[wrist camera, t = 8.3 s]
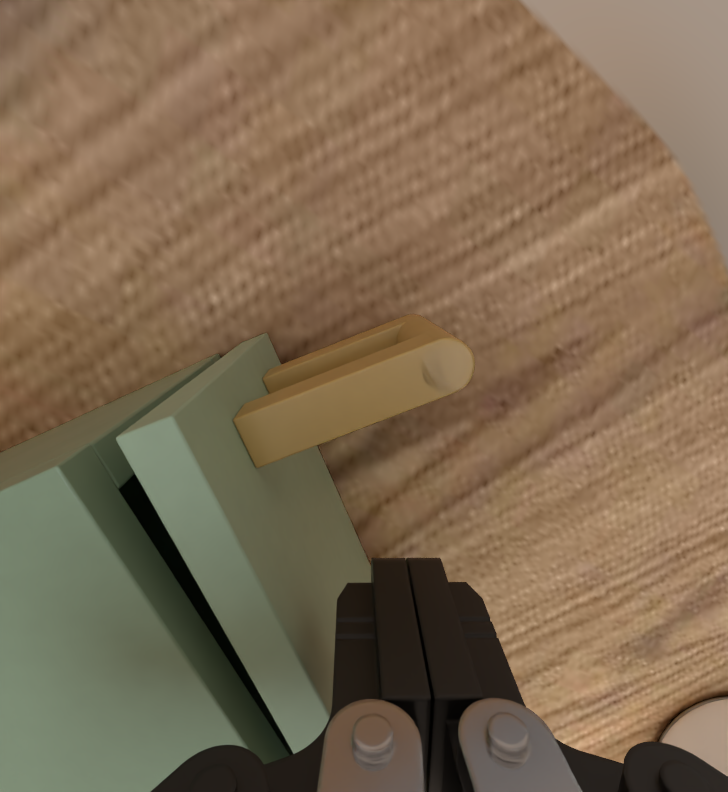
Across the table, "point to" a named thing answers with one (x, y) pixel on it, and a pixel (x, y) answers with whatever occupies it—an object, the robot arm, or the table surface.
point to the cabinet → (107, 621)
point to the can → (702, 732)
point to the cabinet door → (282, 492)
